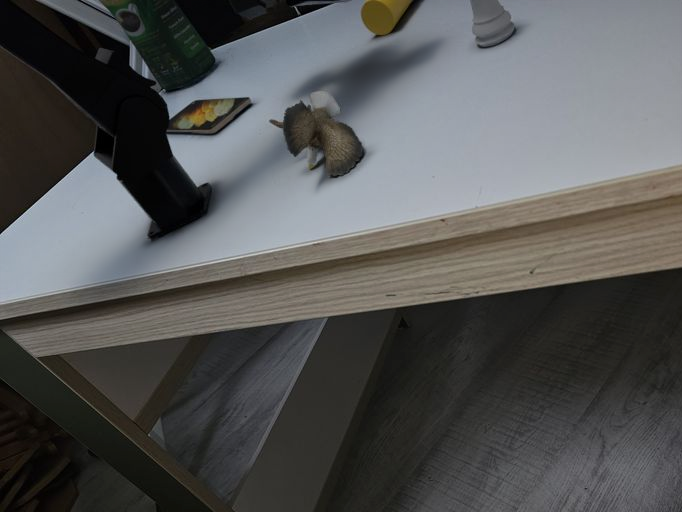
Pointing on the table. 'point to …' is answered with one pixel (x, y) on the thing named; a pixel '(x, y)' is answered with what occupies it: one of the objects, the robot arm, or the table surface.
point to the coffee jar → (164, 40)
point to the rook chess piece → (490, 22)
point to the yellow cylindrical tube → (383, 14)
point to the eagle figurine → (320, 133)
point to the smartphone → (207, 115)
